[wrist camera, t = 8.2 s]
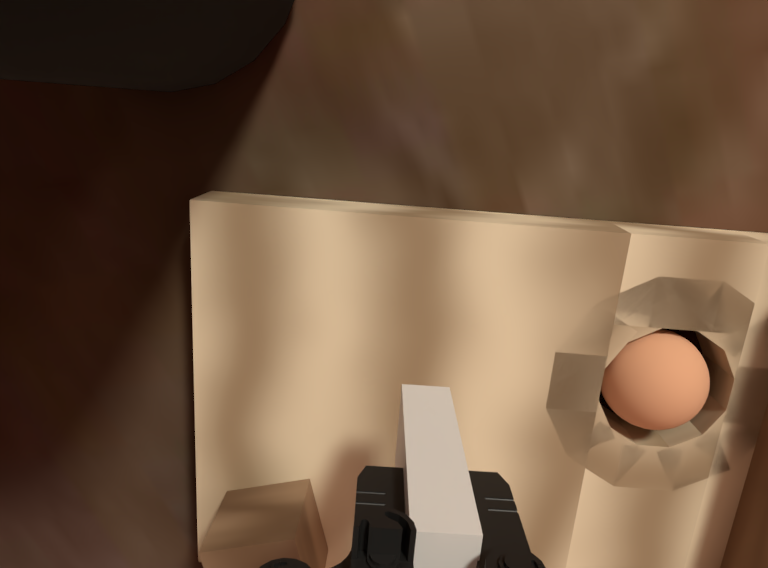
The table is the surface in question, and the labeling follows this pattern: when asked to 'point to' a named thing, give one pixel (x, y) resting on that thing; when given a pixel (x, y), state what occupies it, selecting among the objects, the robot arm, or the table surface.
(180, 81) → the coffee jar
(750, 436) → the board
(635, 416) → the ball
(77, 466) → the table surface
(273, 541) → the walnut cube
